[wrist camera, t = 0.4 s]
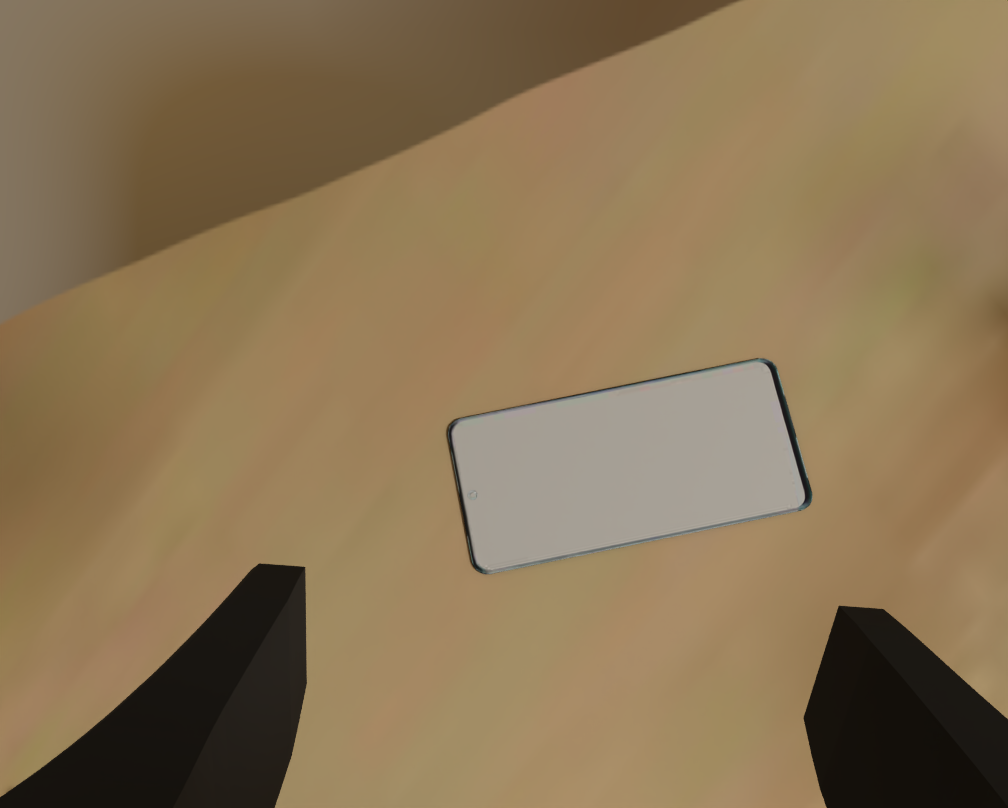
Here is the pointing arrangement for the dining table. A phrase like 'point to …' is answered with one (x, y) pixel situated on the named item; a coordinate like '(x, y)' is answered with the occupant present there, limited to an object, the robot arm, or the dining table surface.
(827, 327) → the dining table surface
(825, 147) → the dining table surface
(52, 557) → the dining table surface
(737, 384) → the smartphone
